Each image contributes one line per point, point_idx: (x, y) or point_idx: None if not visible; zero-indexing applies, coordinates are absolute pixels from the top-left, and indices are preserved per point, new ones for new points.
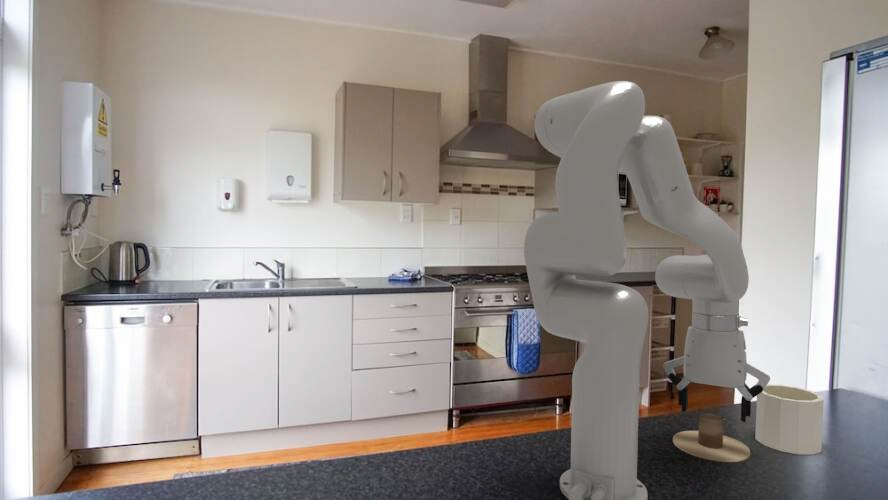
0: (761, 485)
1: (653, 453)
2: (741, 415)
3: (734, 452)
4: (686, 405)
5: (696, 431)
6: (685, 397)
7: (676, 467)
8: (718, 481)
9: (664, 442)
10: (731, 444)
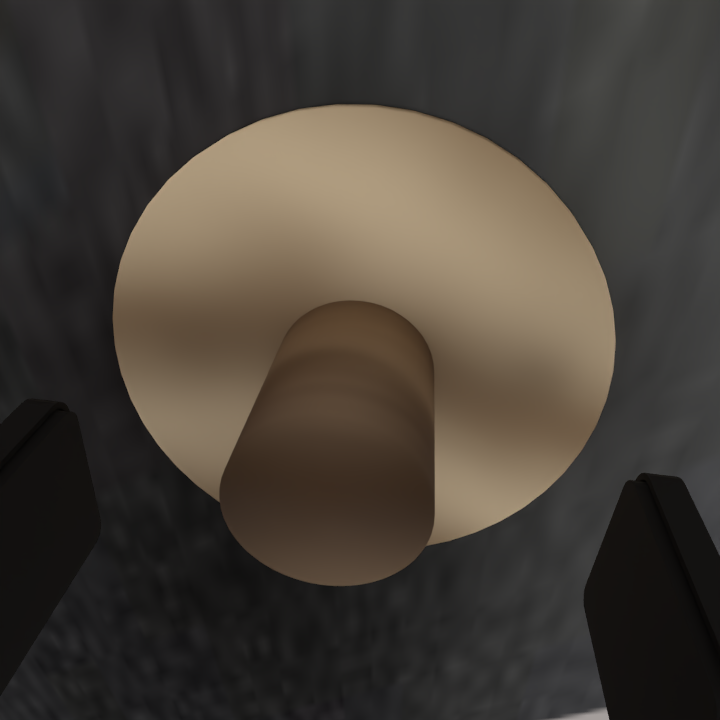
0: (567, 678)
1: (103, 564)
2: (597, 651)
3: (499, 442)
4: (69, 546)
5: (236, 154)
6: (13, 663)
7: (230, 647)
8: (397, 695)
9: (98, 418)
10: (499, 312)
